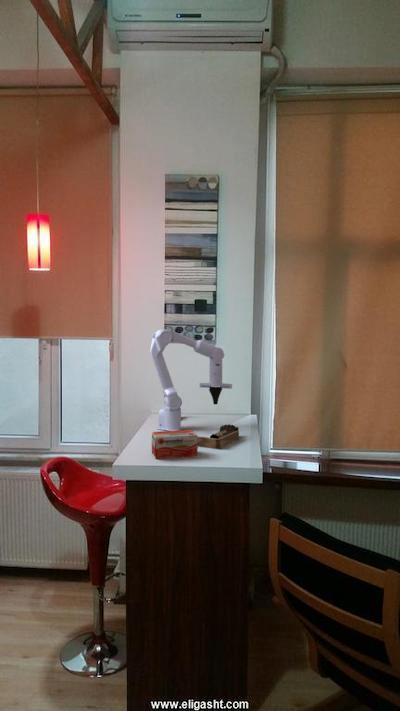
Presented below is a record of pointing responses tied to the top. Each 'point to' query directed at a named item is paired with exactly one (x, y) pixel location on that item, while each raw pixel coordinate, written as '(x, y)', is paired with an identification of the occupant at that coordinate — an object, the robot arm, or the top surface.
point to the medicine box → (174, 444)
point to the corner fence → (218, 440)
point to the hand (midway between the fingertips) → (215, 404)
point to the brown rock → (224, 431)
